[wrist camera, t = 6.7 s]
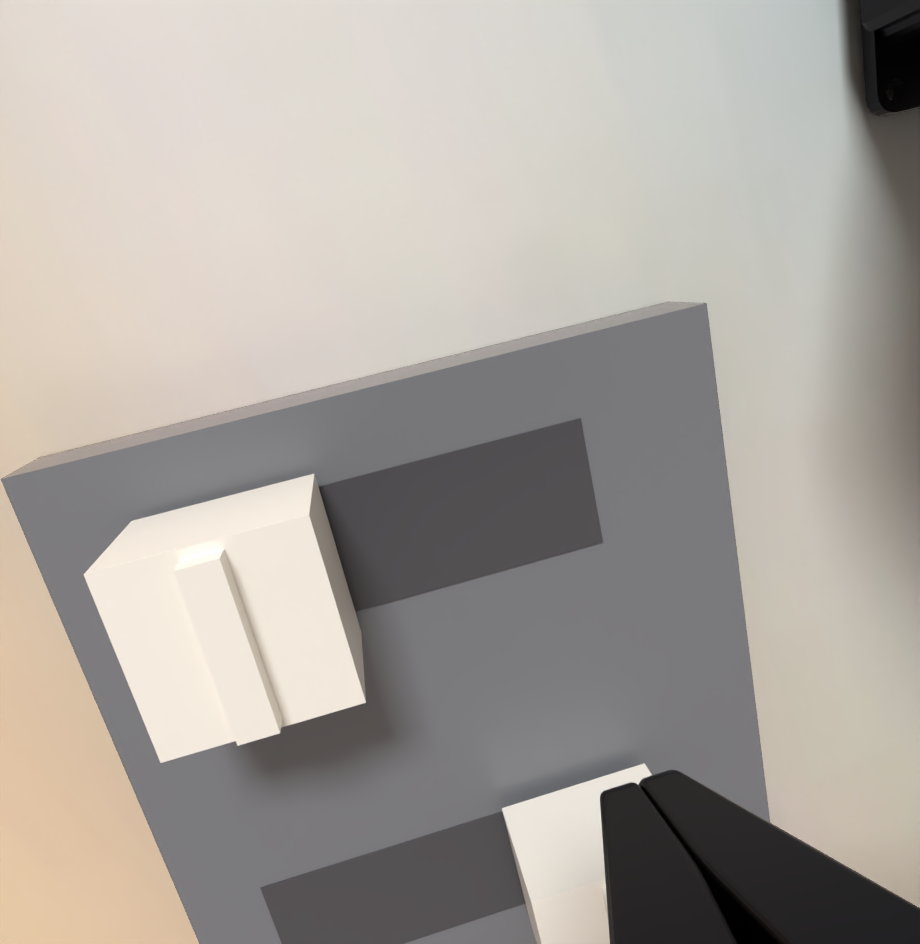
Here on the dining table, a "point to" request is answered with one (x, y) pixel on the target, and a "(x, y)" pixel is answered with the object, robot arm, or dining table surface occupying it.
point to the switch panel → (443, 623)
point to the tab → (231, 617)
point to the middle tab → (565, 859)
